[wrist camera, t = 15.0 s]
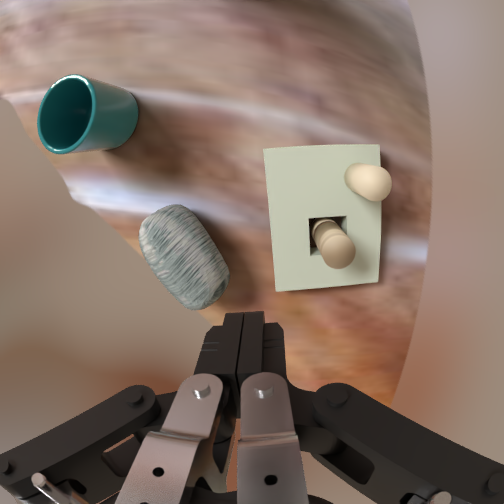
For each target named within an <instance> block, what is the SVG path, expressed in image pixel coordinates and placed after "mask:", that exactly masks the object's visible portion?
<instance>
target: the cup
mask: <svg viewBox="0 0 504 504" xmlns="http://www.w3.org/2000/svg"><path fill="white" fill-rule="evenodd" d="M137 121H138V106H137V103H136V100H135V98H134V97H133V95H132V94H131V93H130V92H128V91H127V90H125V89H123V88H120V87H117V86H114V85H111V84H108V83H105V82H102V81H99V80H96V79H92V78H89V77H86V76H82V75H78V74H72V75H67V76H65V77H63V78H61V79H59V80H58V81H57V82H55V83H54V84H53V85H52V86H51V87H50V89H49V90H48V91H47V93H46V94H45V96H44V98H43V100H42V102H41V105H40V108H39V112H38V119H37V128H38V134H39V137H40V140H41V142H42V144H43V145H44V146H45V147H46V149H48V150H49V151H50V152H52V153H55V154H69V153H78V152H88V151H100V150H110V149H114V148H117V147H119V146H121V145H122V144H124V143H125V142H126V141H127V140H128V139H129V138H130V136H131V135H132V133H133V132H134V130H135V127H136V125H137Z"/></svg>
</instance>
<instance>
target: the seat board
mask: <svg viewBox="0 0 504 504" xmlns="http://www.w3.org/2000/svg"><path fill="white" fill-rule="evenodd" d="M263 152H264V162H265V172H266V182H267V193H268V203H269V214H270V226H271V237H272V249H273V261H274V273H275V286H276V292H277V291H290V290H302V289H313V288H324V287H335V286H345V285H354V284H364V283H373V282H378V275H379V261H380V242H381V200H383V199H385V198H386V197H387V196H388V194H389V193H390V191H391V187H392V181H391V177H390V175H389V173H388V172H387V171H386V170H385V169H384V168H382V167H380V148H379V145H372V144H351V145H314V146H295V147H281V148H268V149H263ZM334 216H341V229H342V230H343V232H344V233H345V234H346V235H347V236H348V237H349V238H350V240H351V241H352V242H353V243H354V245H355V249H356V254H355V258H354V260H353V261H352V263H351V264H350V265H348V266H347V267H345V268H342V269H333V268H331V267H329V266H328V265H327V264H326V263H325V262H324V260H323V258H322V255H321V253H320V251H319V249H318V247H312V248H310V240H309V219H308V218H319V217H334Z"/></svg>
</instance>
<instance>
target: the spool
mask: <svg viewBox="0 0 504 504" xmlns="http://www.w3.org/2000/svg"><path fill="white" fill-rule="evenodd" d="M139 243H140V248H141V251H142V253H143V255H144V257H145V260H146V261H147V263H148V264H149V266H150V267H151V269H152V271H153V272H154V274H155V275H156V276H157V278H158V279H159V280H160V282H161V283H162V284H163V285H164V286H165V288H166V289H167V290H168V291H169V292H170V293H171V294H172V295H173V296H174V297H175V298H176V299H177V300H178V301H179V302H180V303H181V304H183V306H184V307H186V308H188V309H190V310H201V309H205V308H207V307H208V306H210V305H211V304H213V303H214V302H215V301H216V300H218V299H219V297H220V296H221V295H222V294H223V292H224V291H225V289H226V287H227V285H228V283H229V279H230V273H229V270H228V266H227V265H226V263H225V261H224V259H223V257H222V255H221V254H220V252H219V251H218V249H217V247H216V245H215V244H214V242H213V241H212V239H211V237H210V236H209V234H208V233H207V231H206V230H205V228H204V227H203V225H202V224H201V223H200V221H199V220H198V219H197V217H196V216H195V215H194V214H193V213H192V212H191V211H190V210H189V209H188V208H186V207H184V206H182V205H169V206H166V207H164V208H162V209H160V210H157V211H156V212H155V213H153V214H151V215H150V216H148V217H147V218H146V219H145V220H144V221H143V222H142V224H141V227H140V230H139Z"/></svg>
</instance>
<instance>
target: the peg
mask: <svg viewBox="0 0 504 504" xmlns="http://www.w3.org/2000/svg"><path fill="white" fill-rule="evenodd" d="M310 231H311V235H312V237H313V239H314V241H315V243H316V245H317V247H318V249H319V251H320V253H321V255H322V258H323V260H324V262H325V263H326V264H327V265H328V266H329V267H331V268H333V269H342V268H345V267H347V266H348V265H350V264H351V263H352V261H353V260H354V258H355V254H356V249H355V245H354V243H353V242H352V241H351V240H350V238H349V237H348V236H347V235H346V234H345V233H344V232H343V230H342V229H341V228H340V227H339V226H338V225H337V224H336V222H335V221H334V220H333V219H332V218H330V217H319V218H317V219H315V220H314V221H313V223H312V225H311V229H310Z"/></svg>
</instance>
